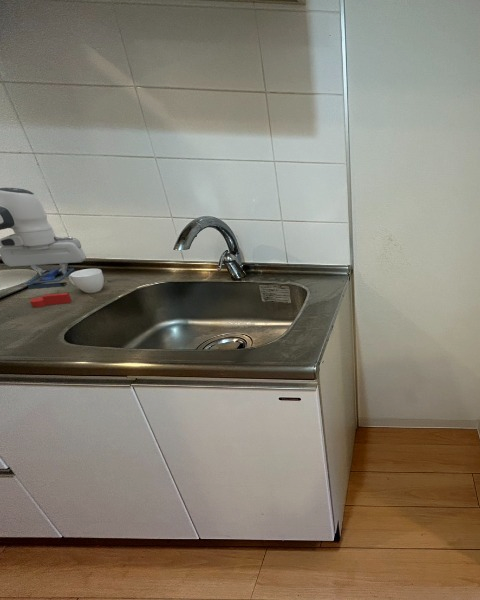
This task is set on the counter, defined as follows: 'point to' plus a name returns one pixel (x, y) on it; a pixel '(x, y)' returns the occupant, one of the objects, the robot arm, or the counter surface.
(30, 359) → the counter surface
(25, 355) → the counter surface
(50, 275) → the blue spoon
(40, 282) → the dark blue open frame
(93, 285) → the cup
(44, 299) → the red stepped block
